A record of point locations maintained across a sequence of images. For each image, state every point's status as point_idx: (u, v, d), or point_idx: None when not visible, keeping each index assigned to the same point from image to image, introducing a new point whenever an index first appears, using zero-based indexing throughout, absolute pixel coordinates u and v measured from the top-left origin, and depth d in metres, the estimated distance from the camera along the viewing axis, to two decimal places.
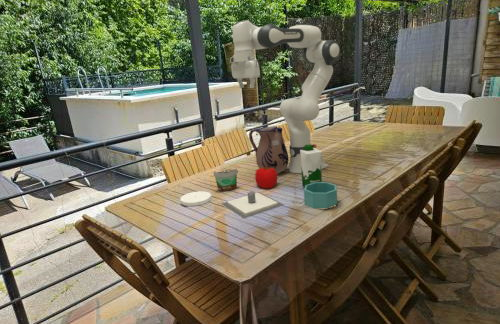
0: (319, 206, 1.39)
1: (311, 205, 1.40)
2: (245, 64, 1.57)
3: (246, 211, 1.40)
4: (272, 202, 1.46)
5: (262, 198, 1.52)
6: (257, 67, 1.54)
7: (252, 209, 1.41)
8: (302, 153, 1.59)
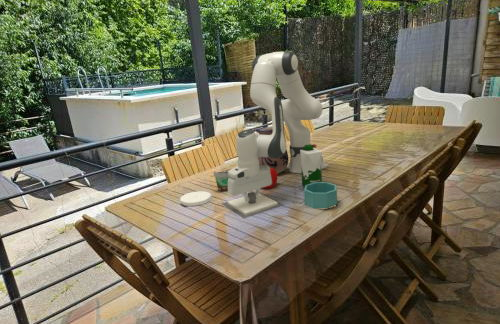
0: (319, 206, 1.39)
1: (311, 205, 1.40)
2: (259, 174, 1.46)
3: (246, 211, 1.40)
4: (272, 202, 1.46)
5: (262, 198, 1.52)
6: None
7: (252, 209, 1.41)
8: (302, 153, 1.59)
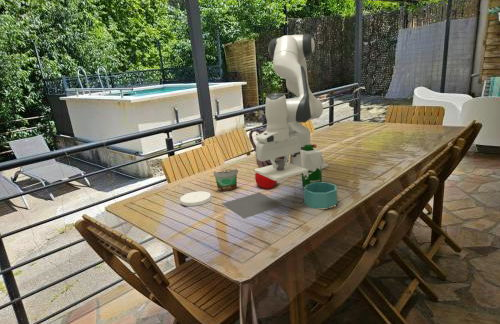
0: (319, 206, 1.39)
1: (311, 205, 1.40)
2: (288, 140, 1.40)
3: (276, 177, 1.34)
4: (301, 169, 1.41)
5: (290, 166, 1.46)
6: None
7: (282, 175, 1.36)
8: (302, 153, 1.59)
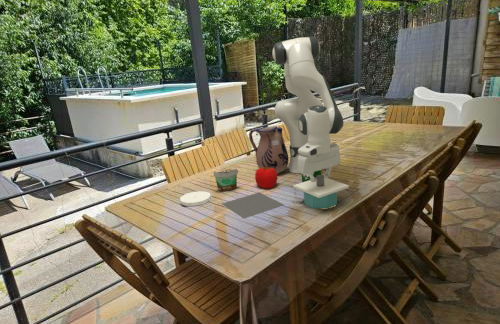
0: (319, 206, 1.39)
1: (311, 205, 1.40)
2: (329, 153, 1.39)
3: (319, 193, 1.34)
4: (342, 185, 1.41)
5: (329, 181, 1.46)
6: None
7: (324, 192, 1.35)
8: None
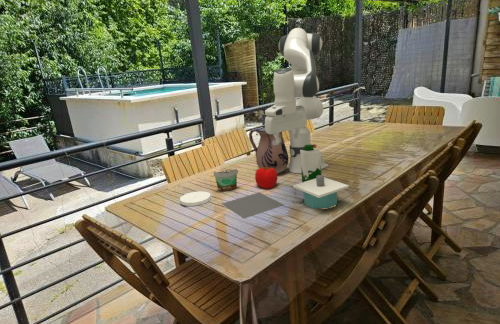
0: (319, 206, 1.39)
1: (311, 205, 1.40)
2: (295, 114, 1.46)
3: (319, 193, 1.34)
4: (342, 185, 1.41)
5: (329, 181, 1.46)
6: None
7: (324, 192, 1.35)
8: (302, 153, 1.59)
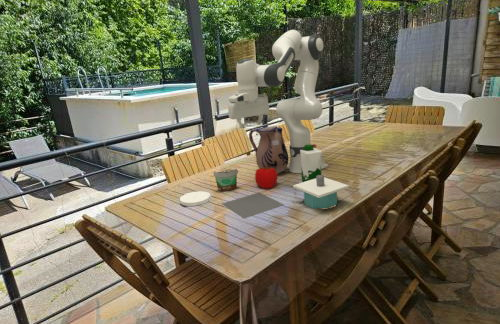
0: (319, 206, 1.39)
1: (311, 205, 1.40)
2: (257, 101, 1.57)
3: (319, 193, 1.34)
4: (342, 185, 1.41)
5: (329, 181, 1.46)
6: None
7: (324, 192, 1.35)
8: (302, 153, 1.59)
